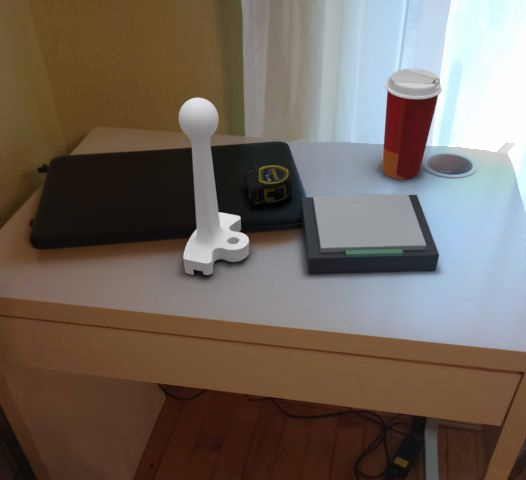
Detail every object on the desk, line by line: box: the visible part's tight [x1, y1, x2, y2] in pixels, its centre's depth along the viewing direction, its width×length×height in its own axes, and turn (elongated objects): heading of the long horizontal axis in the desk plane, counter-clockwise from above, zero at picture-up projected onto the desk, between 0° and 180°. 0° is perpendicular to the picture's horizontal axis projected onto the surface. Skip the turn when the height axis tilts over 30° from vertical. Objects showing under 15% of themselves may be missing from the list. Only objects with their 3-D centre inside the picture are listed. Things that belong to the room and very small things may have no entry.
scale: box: [300, 193, 440, 275], centre depth 83 cm, size 16×14×3 cm
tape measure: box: [242, 163, 294, 206], centre depth 91 cm, size 7×7×4 cm
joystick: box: [178, 97, 250, 276], centre depth 75 cm, size 11×8×20 cm
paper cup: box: [382, 68, 443, 180], centre depth 92 cm, size 8×8×14 cm
